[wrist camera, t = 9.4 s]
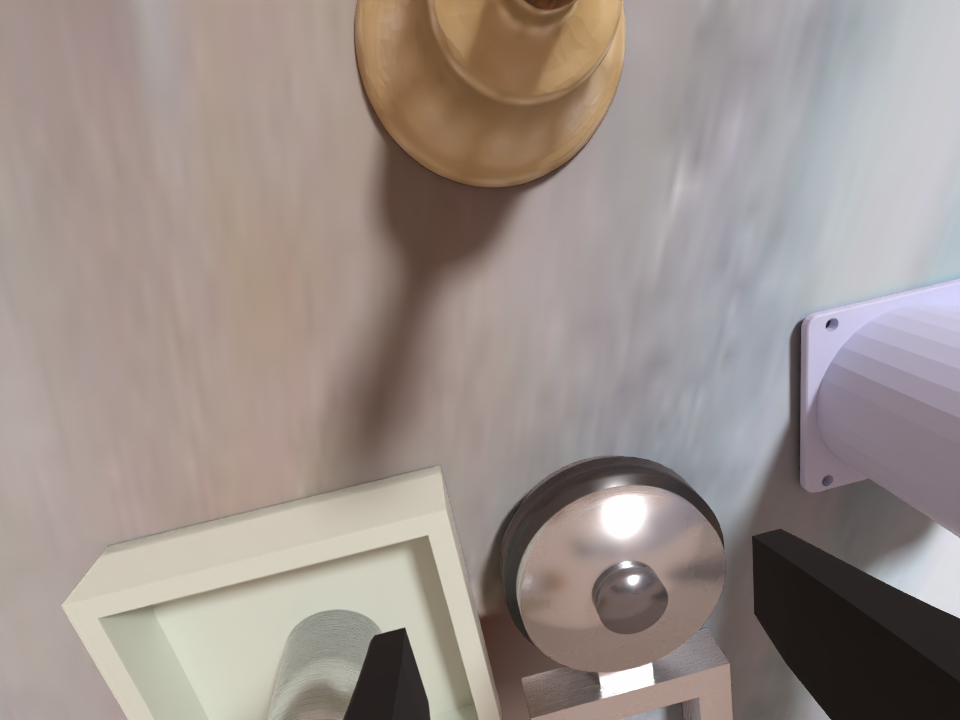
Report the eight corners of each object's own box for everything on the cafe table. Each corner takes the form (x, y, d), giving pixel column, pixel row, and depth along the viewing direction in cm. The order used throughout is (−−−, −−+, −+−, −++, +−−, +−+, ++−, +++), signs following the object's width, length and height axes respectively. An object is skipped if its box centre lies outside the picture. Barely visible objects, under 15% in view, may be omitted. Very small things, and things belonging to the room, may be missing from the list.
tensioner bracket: (692, 423, 22) (748, 471, 19) (714, 756, 29) (758, 838, 25) (474, 477, 22) (489, 537, 18) (549, 804, 28) (571, 895, 25)
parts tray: (440, 465, 21) (446, 509, 18) (498, 697, 25) (511, 762, 23) (108, 545, 20) (61, 605, 18) (226, 771, 25) (204, 849, 22)
